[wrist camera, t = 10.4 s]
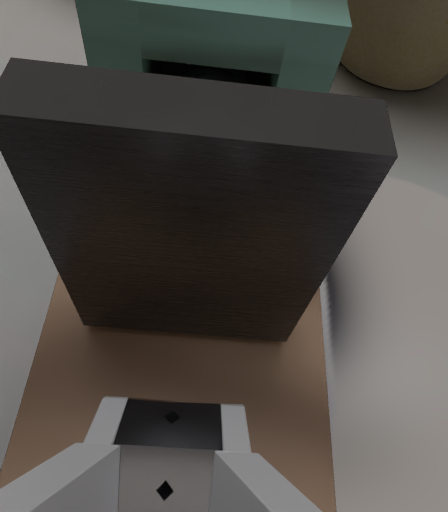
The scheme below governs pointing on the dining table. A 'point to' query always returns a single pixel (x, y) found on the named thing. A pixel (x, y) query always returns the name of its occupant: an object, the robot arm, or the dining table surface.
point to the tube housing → (179, 344)
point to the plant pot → (398, 42)
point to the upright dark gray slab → (190, 190)
